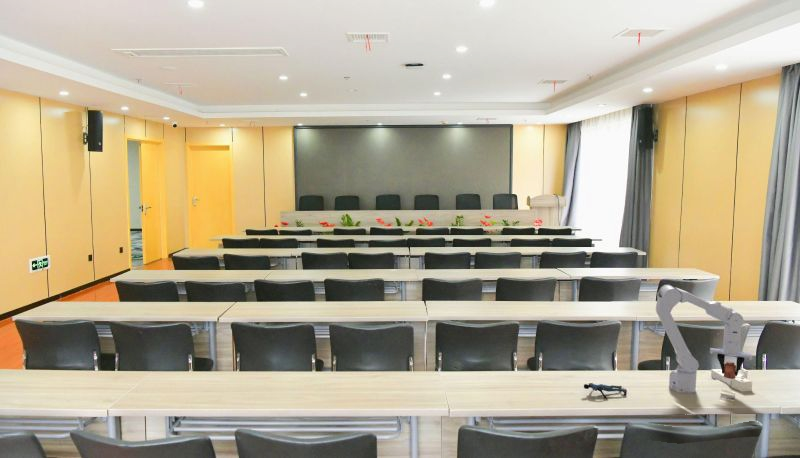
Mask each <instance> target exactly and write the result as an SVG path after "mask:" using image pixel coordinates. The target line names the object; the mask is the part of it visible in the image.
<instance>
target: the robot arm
mask: <svg viewBox="0 0 800 458" xmlns="http://www.w3.org/2000/svg"><path fill="white" fill-rule="evenodd" d="M656 297H657V298H656V303H655V304H656V306H655V313H656V314H657V315H658V318H659V320H660V322H661V324H662V327H663V329H664V330H665V333H666V335H667V337H668V339H669V341H670V343H671V345H672V348H673V349H674V353H675V360H676V362H677V363H678V364H677V366H676V369H674V370H672V371H671V372H670V373H669V382H668V388H669V389H671V390H673V391H674V392H677V393H679V394H682V393H683V394H684V393H695V392H696V386H697V371H698V370H699V367H700V364H699V361H698V360H697V359H696V358H695V357H694V356H693V355H692V353H691V352H690V350H689V348H688V346H687V344H686V342H685V340H684V337H683V336H682V333H681V331H680V330H679V327H678V326H677V323H676V321H675V319H674V317H673V316H672V313H671V312H672V310H673V309H674V307H675V306H677V305H678V304H679V302H680V303H681V304H682V303H683V304H684V303H690V304H692V305H694V306H696V307H698V308H700V309H703V310H704V311H705V313H706V315H708V316H710V317H711V318H714V319H717V320H719V321H720V322H723V323H724V328H723V342H722V343H723V344H722V348H713V347H710V349H709V354H711V355H717V356H716V358H717V360H718V362H719V365H720V369H722V373H723V374H724V364H725V357H731V358H736V364H735V365H736V373H735V376H737V375H738V373H739V372H740V370H741V368H742V367H741V366H742V365H743V363H745V360H750V361H753V354H752V353H747V352H744V351H743V352H742V351H740V349H741V348H740V347H741V335H742V334H741V332H742V327H743V325H744V324H745V320H744V317H743V315H742V314H740V313H738V311H735V310H734V309H733V308H732V307H726V306H724V305H722V303H721V302H719V301H709V302H708V301H706V300H704V299H702V298H700V297H698V296H696V295H694V294H692V293H691V292H688V291H687V290H684V289H682V288H678V287H674V286H672V285H671V284H664V285H662V286H661V287H660V288H659V290H658V292H657V293H656Z"/></svg>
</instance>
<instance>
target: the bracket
mask: <svg viewBox="0 0 800 458" xmlns="http://www.w3.org/2000/svg"><path fill="white" fill-rule="evenodd" d="M710 371H711V372H710V377H711V376H712V377H713V378H712V377H711V378H712V379H714V378H715V379H714V380H716V379H717V380H716V381H722V382H724V383H726V384H727V385H729V386H731V387H732V379H729V378H725V377H724V374H723V373H722V369H721V368H720V369H719V368H718V369H713V368H711V369H710ZM748 371H749V370H747V369H745V368H740V370H739V372H738V375H737V376H735V378H736V377H744V378H746V379H748Z"/></svg>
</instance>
